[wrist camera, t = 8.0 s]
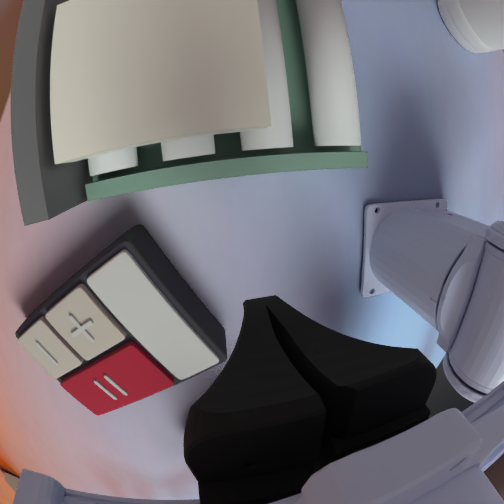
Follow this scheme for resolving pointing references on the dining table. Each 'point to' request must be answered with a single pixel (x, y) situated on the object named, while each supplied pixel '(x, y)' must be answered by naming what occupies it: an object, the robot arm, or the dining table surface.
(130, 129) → the board
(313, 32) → the roller frame
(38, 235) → the dining table surface
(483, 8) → the bottle
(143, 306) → the calculator
